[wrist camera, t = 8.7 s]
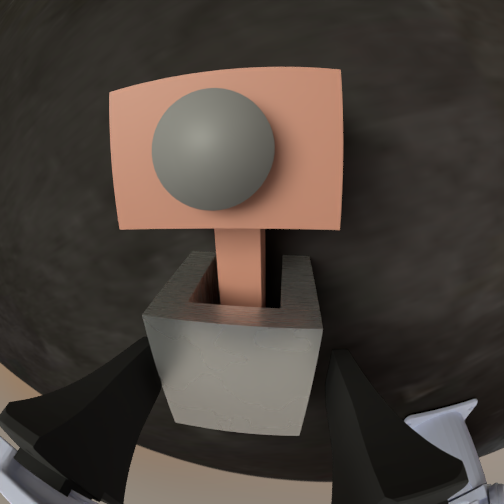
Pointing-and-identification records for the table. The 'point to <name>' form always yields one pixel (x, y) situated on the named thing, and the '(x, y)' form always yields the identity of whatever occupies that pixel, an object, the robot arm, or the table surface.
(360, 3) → the table surface
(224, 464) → the table surface
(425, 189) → the table surface
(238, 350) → the block
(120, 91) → the pink button lever
